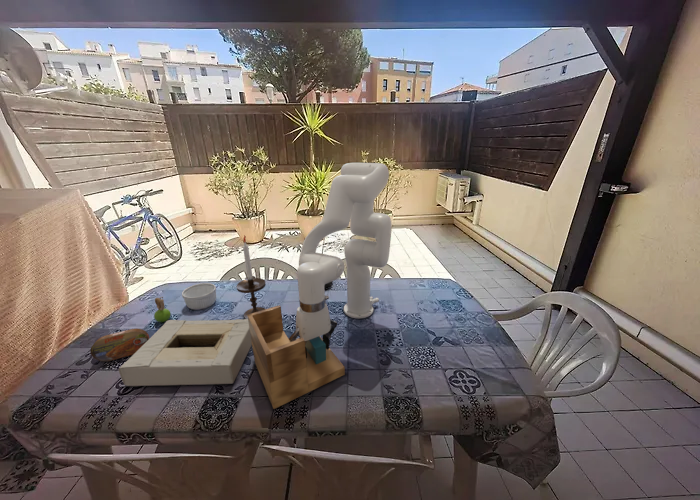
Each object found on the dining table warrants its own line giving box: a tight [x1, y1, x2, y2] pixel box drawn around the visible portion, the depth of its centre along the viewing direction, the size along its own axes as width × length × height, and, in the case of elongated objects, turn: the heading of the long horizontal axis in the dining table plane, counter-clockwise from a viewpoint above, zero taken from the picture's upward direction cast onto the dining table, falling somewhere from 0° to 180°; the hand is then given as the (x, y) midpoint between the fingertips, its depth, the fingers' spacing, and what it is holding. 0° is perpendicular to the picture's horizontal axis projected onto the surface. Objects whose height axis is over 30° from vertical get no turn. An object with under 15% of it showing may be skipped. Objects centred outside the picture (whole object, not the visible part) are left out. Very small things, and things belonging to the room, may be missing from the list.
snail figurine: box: [153, 296, 171, 323], centre depth 106 cm, size 5×6×12 cm
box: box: [118, 318, 252, 387], centre depth 88 cm, size 23×8×32 cm
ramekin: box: [181, 282, 217, 311], centre depth 120 cm, size 13×13×7 cm
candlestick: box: [236, 234, 267, 319], centre depth 106 cm, size 11×11×35 cm
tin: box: [89, 328, 150, 362], centre depth 90 cm, size 15×3×8 cm, turn 117°
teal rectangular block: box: [305, 336, 326, 364], centre depth 86 cm, size 4×9×6 cm, turn 32°
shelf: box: [247, 304, 346, 410], centre depth 82 cm, size 22×20×18 cm
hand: (315, 350), depth 86 cm, fingers open, 7 cm apart
